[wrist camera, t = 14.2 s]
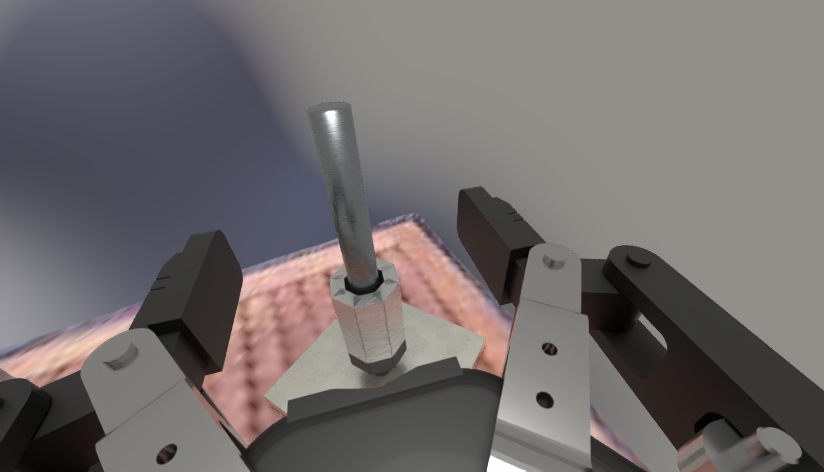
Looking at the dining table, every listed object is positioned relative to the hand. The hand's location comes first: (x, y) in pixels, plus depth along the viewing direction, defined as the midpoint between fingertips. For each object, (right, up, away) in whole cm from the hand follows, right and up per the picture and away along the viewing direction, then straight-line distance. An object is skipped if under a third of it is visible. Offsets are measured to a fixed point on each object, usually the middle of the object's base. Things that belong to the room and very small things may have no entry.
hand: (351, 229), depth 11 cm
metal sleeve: (-2, -10, +21) cm, 24 cm away
